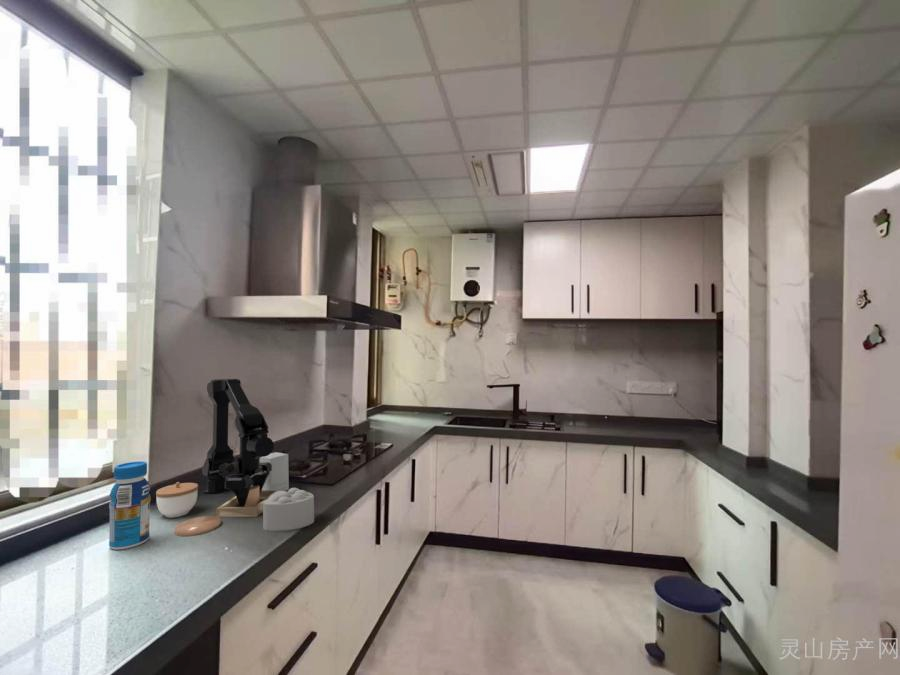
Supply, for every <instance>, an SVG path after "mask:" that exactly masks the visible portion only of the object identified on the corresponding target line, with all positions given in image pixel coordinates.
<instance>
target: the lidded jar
mask: <svg viewBox="0 0 900 675" xmlns="http://www.w3.org/2000/svg"><path fill="white" fill-rule="evenodd" d="M198 490H199V484H198V483H195V482H182V483H180V481H177V482H175V483H174V484H169V485H166V486H163V487H161V488H159V489H157V490H156V492H155V496H156V499H155V500H156V506H157V509H158V510H159V512H160V513H161V514H162V515H163V516H165V518H171V519H173V518H178V517H182V516H185V515H187V514H190V511H191V510H192V509H193V508H194V506H195V505H196V502H197V499H198V493H199V492H198Z"/></svg>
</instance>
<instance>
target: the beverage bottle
mask: <svg viewBox="0 0 900 675" xmlns="http://www.w3.org/2000/svg"><path fill="white" fill-rule="evenodd" d="M147 474H148V463H147V462H146V461H143V460H141V461H129V462H124V463H121V464H117V465H115V466H114V468H113V479H114V480H115V481H116V482H115V483H114V485H112V486H113V487H112V488H111V489H110V493H109V497H110V498H111V499H110V500H109V503H108V509H109V537H108V538H109V540H108V546H109V549H111V550H115V551H117V550H127V549H131V548H135V547H138V546H140V545H142V544H144V543H146V542H147V541H148V540H149V539H150V518H151V517H150V516H151V514H150V512H151V511H150V510H151V499H152V498H151V494H150V493H149V492H150V491H151V485H150V483H149V481H148V480H147V479H146V478H145V476H147Z"/></svg>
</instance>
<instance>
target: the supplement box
mask: <svg viewBox="0 0 900 675" xmlns="http://www.w3.org/2000/svg"><path fill="white" fill-rule="evenodd" d="M261 462H269V463H270V464H271V465H272V471H270V474H269V475H268V477H267V479H266V481H265V484H264V486H263V488H262V490H279V491H286V492H287V491H288V490H289V489H290V488H289V487H290V486H289V485H290V484H289V483H290V480H289V478H290V477H289V453H282V452H277V451H275V452H271V453H270V454H269V455H268V456H265V457H260V463H261Z"/></svg>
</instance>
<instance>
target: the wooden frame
mask: <svg viewBox="0 0 900 675" xmlns="http://www.w3.org/2000/svg"><path fill="white" fill-rule="evenodd" d="M277 491H279V490H261V492H260V495H259V500H262V501H259V504H258V505H257V506H255V507H240V506H238V505H239V502H238V500H237V497H236V495H235V496H233V497H232V498H230V499H229V500H227V501H226V502H224V503H223V504H221V505H220V506H218V507H217V508H216V511H215V516H217V517H219V518H245V517H247V518H249V517H250V518H252V517H253V518H254V517H255V518H256V517H258V516H260V514H263V502H264V501H265V500H267V499H268V498H269V497H270V496H271V495H273V494H274V493H275V492H277Z"/></svg>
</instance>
